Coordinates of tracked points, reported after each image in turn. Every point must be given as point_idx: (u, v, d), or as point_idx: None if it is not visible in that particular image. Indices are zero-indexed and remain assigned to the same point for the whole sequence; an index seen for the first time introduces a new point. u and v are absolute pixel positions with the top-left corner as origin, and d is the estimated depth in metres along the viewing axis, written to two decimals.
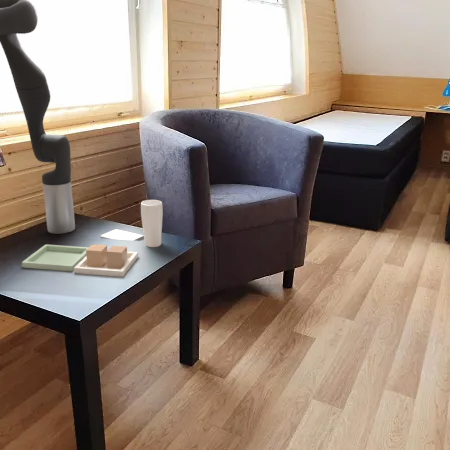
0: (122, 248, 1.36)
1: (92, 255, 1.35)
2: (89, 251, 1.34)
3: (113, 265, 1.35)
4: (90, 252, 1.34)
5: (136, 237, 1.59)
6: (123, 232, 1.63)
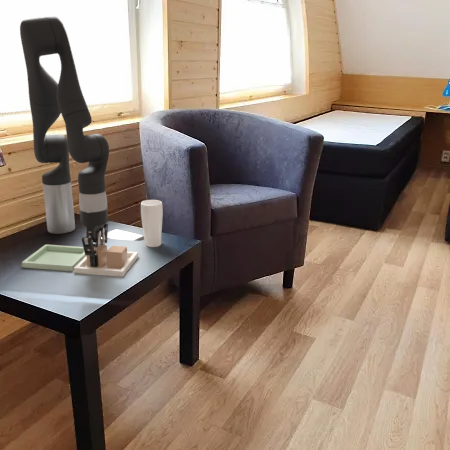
0: (122, 248, 1.36)
1: None
2: None
3: (113, 265, 1.35)
4: None
5: (136, 237, 1.59)
6: (123, 232, 1.63)
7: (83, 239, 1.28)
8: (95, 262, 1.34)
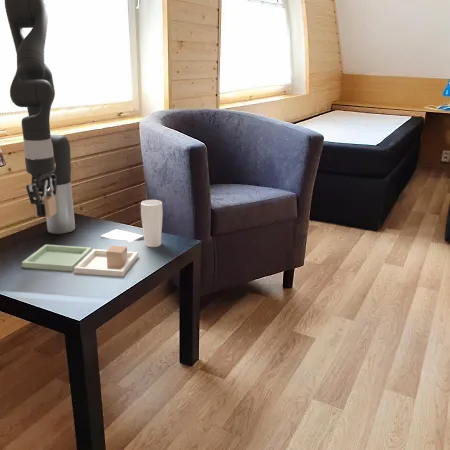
0: (122, 248, 1.36)
1: None
2: None
3: (113, 265, 1.35)
4: None
5: (136, 237, 1.59)
6: (123, 232, 1.63)
7: (28, 186, 1.27)
8: (42, 212, 1.33)
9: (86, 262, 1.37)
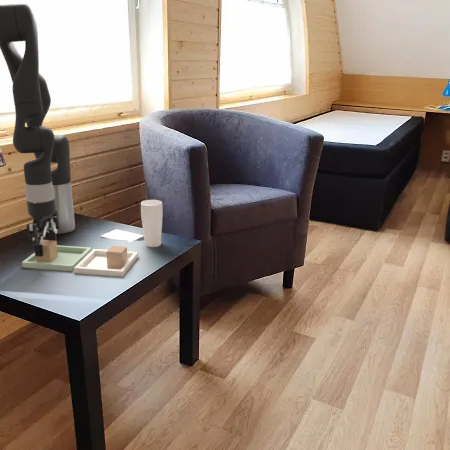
0: (122, 248, 1.36)
1: None
2: None
3: (113, 265, 1.35)
4: None
5: (136, 237, 1.59)
6: (123, 232, 1.63)
7: (28, 225, 1.30)
8: (40, 252, 1.35)
9: (86, 262, 1.37)
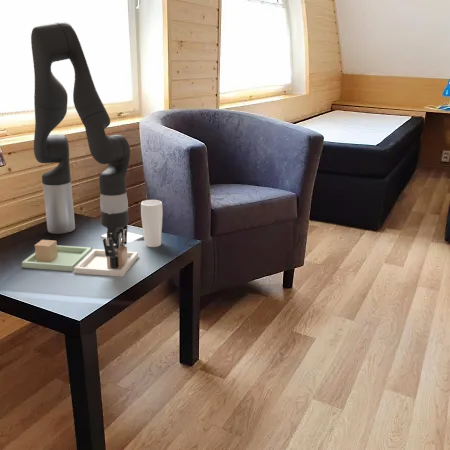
0: (122, 248, 1.36)
1: (40, 250, 1.37)
2: (37, 246, 1.37)
3: None
4: (38, 247, 1.37)
5: (136, 237, 1.58)
6: None
7: (104, 240, 1.28)
8: (115, 263, 1.34)
9: (86, 262, 1.37)
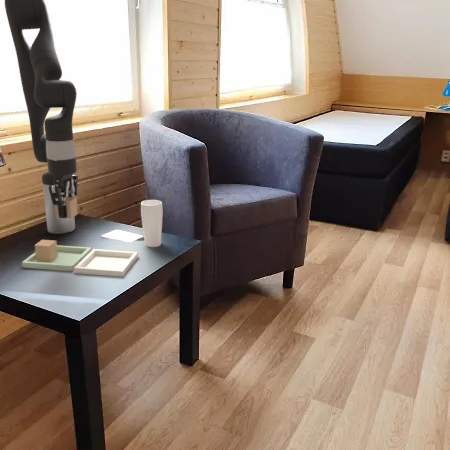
0: (72, 198, 1.35)
1: (40, 250, 1.37)
2: (37, 246, 1.37)
3: None
4: (38, 247, 1.37)
5: (136, 237, 1.58)
6: (124, 232, 1.63)
7: (50, 187, 1.26)
8: (64, 213, 1.32)
9: (86, 262, 1.37)
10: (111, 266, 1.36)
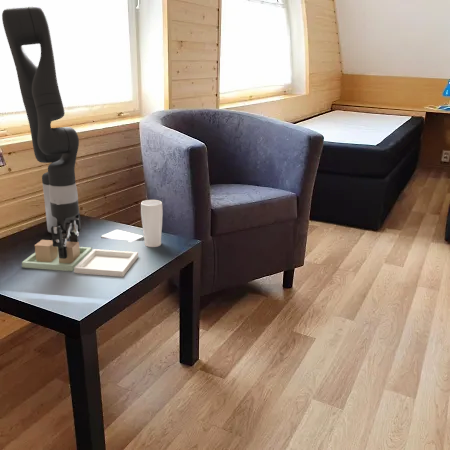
0: (74, 243, 1.39)
1: (40, 250, 1.37)
2: (37, 246, 1.37)
3: (64, 260, 1.38)
4: (38, 247, 1.37)
5: (136, 238, 1.58)
6: (124, 232, 1.63)
7: (52, 228, 1.30)
8: (64, 254, 1.34)
9: (86, 262, 1.37)
10: (111, 266, 1.36)
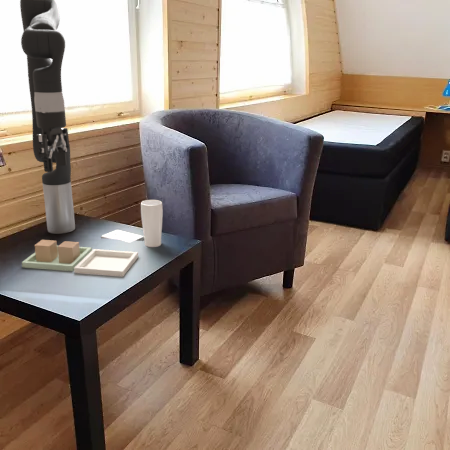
0: (74, 243, 1.39)
1: (40, 250, 1.37)
2: (37, 246, 1.37)
3: (64, 260, 1.38)
4: (38, 247, 1.37)
5: (136, 238, 1.58)
6: (124, 233, 1.63)
7: (37, 135, 1.24)
8: (49, 166, 1.28)
9: (86, 262, 1.37)
10: (111, 266, 1.36)
